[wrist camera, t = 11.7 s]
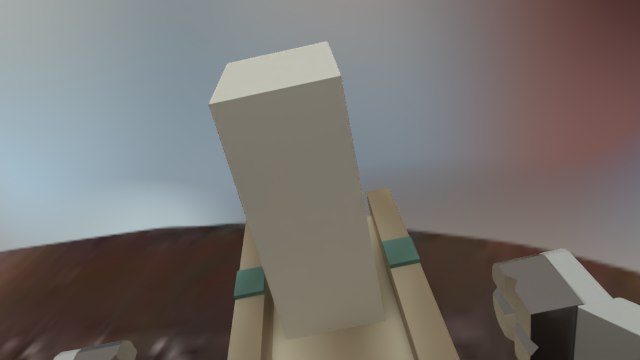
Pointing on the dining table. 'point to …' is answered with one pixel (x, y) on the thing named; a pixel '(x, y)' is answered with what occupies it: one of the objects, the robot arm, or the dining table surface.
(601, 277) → the dining table surface
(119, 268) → the dining table surface
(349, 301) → the rider
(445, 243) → the dining table surface
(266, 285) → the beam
